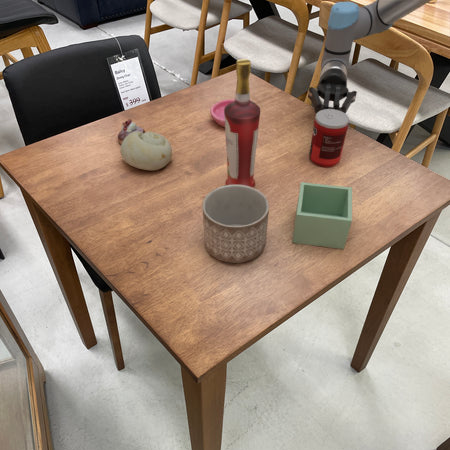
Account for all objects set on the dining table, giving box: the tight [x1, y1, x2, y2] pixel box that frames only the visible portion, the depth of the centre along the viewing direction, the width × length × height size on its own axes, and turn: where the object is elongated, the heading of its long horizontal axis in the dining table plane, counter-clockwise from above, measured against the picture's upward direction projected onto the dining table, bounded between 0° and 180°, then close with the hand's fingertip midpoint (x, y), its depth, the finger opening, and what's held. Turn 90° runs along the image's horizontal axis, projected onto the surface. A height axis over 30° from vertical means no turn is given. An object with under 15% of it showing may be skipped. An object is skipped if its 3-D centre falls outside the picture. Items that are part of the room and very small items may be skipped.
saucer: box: [209, 98, 235, 128], centre depth 121 cm, size 12×12×3 cm
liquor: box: [224, 58, 261, 188], centre depth 92 cm, size 7×7×28 cm
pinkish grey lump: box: [117, 118, 147, 145], centre depth 114 cm, size 8×8×5 cm
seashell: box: [119, 131, 173, 171], centre depth 106 cm, size 13×8×10 cm
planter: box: [201, 184, 270, 264], centre depth 87 cm, size 13×13×10 cm
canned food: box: [308, 109, 350, 168], centre depth 106 cm, size 8×8×11 cm
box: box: [291, 181, 353, 250], centre depth 91 cm, size 11×11×8 cm
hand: (329, 125), depth 107 cm, fingers closed
